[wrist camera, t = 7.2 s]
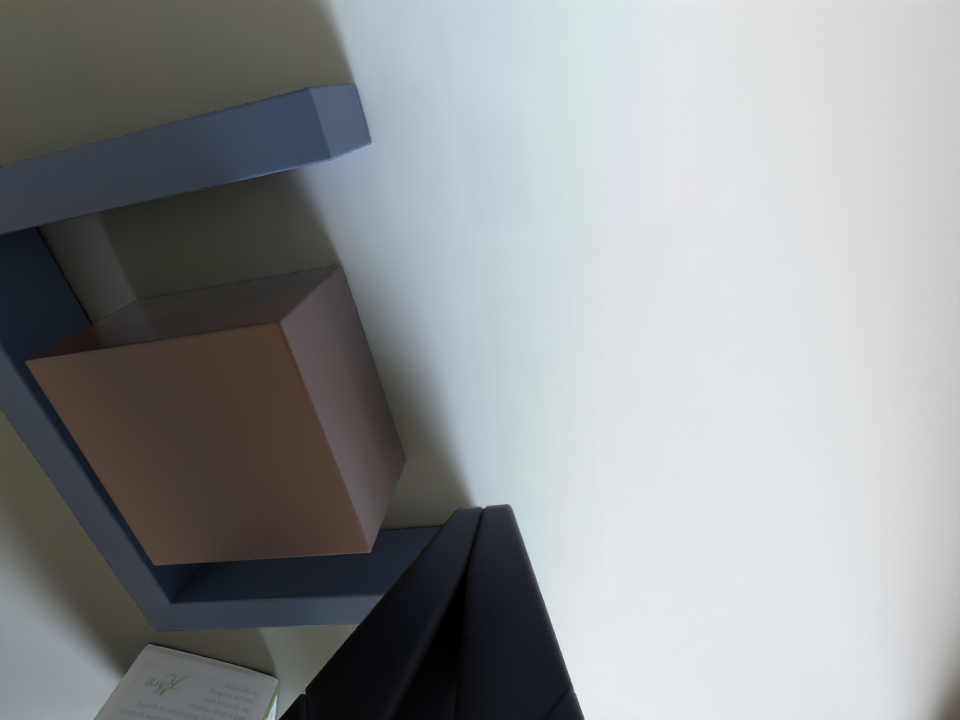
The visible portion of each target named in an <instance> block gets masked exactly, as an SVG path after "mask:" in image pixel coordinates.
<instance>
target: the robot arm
mask: <svg viewBox="0 0 960 720" xmlns="http://www.w3.org/2000/svg"><path fill="white" fill-rule="evenodd" d="M305 694H306V695H305ZM305 694H300V695H299V696H298V698H297V699H296V700H295V701H294V702H293V704H292V705H291V706H290V707H289V708H288V709H287V711H286V712H285V713H284V714H283V715H282V717H281V718H280V719H279V720H585V719H584V716H583V714H582V711H581V708H580V705H579V702H578V699H577V696H576V694H575V693H574V689H573V685H572V682H571V679H570V676H569V674H568V671H567V668H566V665H565V662H564V659H563V656H562V653H561V650H560V647H559V644H558V641H557V638H556V635H555V633H554V630H553V627H552V624H551V621H550V618H549V615H548V612H547V609H546V606H545V603H544V600H543V597H542V595H541V592H540V589H539V586H538V583H537V580H536V577H535V574H534V571H533V568H532V565H531V562H530V559H529V556H528V554H527V551H526V548H525V545H524V542H523V539H522V536H521V533H520V530H519V527H518V524H517V521H516V518H515V515H514V513H513V510H512V507H511V506H510V505H508V504H505V505H493V506H487V507H486V508H484V509H483V508H482V507H468V508H460V509H457V510H456V511H455V512H454V513H453V514H452V515H451V517H450V518H449V519H448V520H447V521H446V522H445V524H444V525H443V526H442V527H441V528H440V530H439V531H438V532H437V533H436V534H435V536H434V537H433V538H432V539H431V540H430V541H429V543H428V544H427V545H426V546H425V547H424V549H423V550H422V551H421V552H420V553H419V554H418V556H417V557H416V558H415V559H414V560H413V562H412V563H411V564H410V565H409V566H408V568H407V569H406V570H405V571H404V572H403V573H402V575H401V576H400V577H399V578H398V579H397V581H396V582H395V583H394V584H393V585H392V587H391V588H390V589H389V590H388V591H387V592H386V594H385V595H384V596H383V597H382V598H381V600H380V601H379V602H378V603H377V604H376V605H375V607H374V608H373V609H372V610H371V611H370V613H369V614H368V615H367V616H366V617H365V619H364V620H363V621H362V622H361V623H360V624H359V626H358V627H357V628H356V629H355V630H354V632H353V633H352V634H351V635H350V636H349V637H348V639H347V640H346V641H345V642H344V643H343V645H342V646H341V647H340V648H339V649H338V651H337V652H336V653H335V654H334V655H333V656H332V658H331V659H330V660H329V661H328V662H327V664H326V665H325V666H324V667H323V668H322V669H321V671H320V672H319V673H318V674H317V675H316V677H315V678H314V679H313V680H312V681H311V683H310V684H309V685H308V686H307V687H306V689H305Z"/></svg>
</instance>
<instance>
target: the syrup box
mask: <svg viewBox="0 0 960 720" xmlns="http://www.w3.org/2000/svg"><path fill="white" fill-rule="evenodd" d="M278 694H279V681H278V680H277V679H276V678H274V677H272V676H268V675H265V674H262V673H259V672H256V671H253V670H250V669H247V668H244V667H241V666H237V665H233V664H229V663H226V662H222V661H219V660H215V659H210V658H206V657H202V656H198V655H194V654H190V653H185V652H181V651H177V650H173V649H169V648H164V647H159V646H155V645H152V644H147V646H146V647H145V648H144V649H143V650H142V651H141V653H140V654H139V656H138V657H137V659H136V660H135V661H134V663H133V664H132V666H131V667H130V669H129V670H128V672H127V673H126V674H125V676H124V677H123V679H122V680H121V681H120V683H119V684H118V686H117V687H116V688H115V690H114V691H113V693H112V694H111V696H110V697H109V699H108V700H107V702H106V703H105V704H104V706H103V707H102V708H101V710H100V711H99V713H98V714H97V716H96V717H95V718H94V720H276V718H277V705H278Z"/></svg>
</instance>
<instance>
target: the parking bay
mask: <svg viewBox="0 0 960 720" xmlns="http://www.w3.org/2000/svg"><path fill="white" fill-rule="evenodd" d="M369 144H371V138H370V134H369V131H368V127H367V124H366V120H365V117H364V113H363V110H362V106H361V103H360V99H359V95H358V92H357V88H356V85H355V84H345V85H333V86H321V87H309V88H304V89H300V90H296V91H292V92H288V93H285V94H281V95H277V96H273V97H269V98H265V99H261V100H257V101H254V102H250V103H246V104H242V105H238V106H234V107H230V108H226V109H223V110H219V111H215V112H211V113H207V114H203V115H199V116H195V117H192V118H188V119H184V120H180V121H176V122H172V123H168V124H164V125H161V126H157V127H153V128H149V129H145V130H141V131H137V132H133V133H130V134H126V135H122V136H118V137H114V138H110V139H106V140H102V141H99V142H95V143H91V144H87V145H83V146H79V147H75V148H72V149H68V150H64V151H60V152H56V153H52V154H48V155H44V156H41V157H37V158H33V159H29V160H25V161H21V162H17V163H13V164H10V165H6V166H2V167H0V409H1V410H2V412H3V413H4V414H5V416H6V417H7V419H8V420H9V422H10V423H11V424H12V426H13V427H14V429H15V430H16V432H17V433H18V435H19V436H20V437H21V439H22V440H23V442H24V443H25V445H26V446H27V448H28V449H29V450H30V452H31V453H32V455H33V456H34V458H35V459H36V460H37V462H38V463H39V465H40V466H41V468H42V469H43V471H44V472H45V473H46V475H47V476H48V478H49V479H50V481H51V482H52V484H53V485H54V486H55V488H56V489H57V491H58V492H59V494H60V495H61V496H62V498H63V499H64V501H65V502H66V504H67V505H68V507H69V508H70V509H71V511H72V512H73V514H74V515H75V517H76V518H77V520H78V521H79V522H80V524H81V525H82V527H83V528H84V530H85V531H86V532H87V534H88V535H89V537H90V538H91V540H92V541H93V543H94V544H95V545H96V547H97V548H98V550H99V551H100V553H101V554H102V556H103V557H104V558H105V560H106V561H107V563H108V564H109V566H110V567H111V568H112V570H113V571H114V573H115V574H116V576H117V577H118V579H119V580H120V581H121V583H122V584H123V586H124V587H125V589H126V590H127V592H128V593H129V594H130V596H131V597H132V599H133V600H134V602H135V603H136V604H137V606H138V607H139V609H140V610H141V612H142V613H143V615H144V616H145V617H146V619H147V620H148V622H149V623H150V625H151V626H152V628H153V629H154V630H155V631H157V632H159V631H185V630H212V629H239V628H266V627H293V626H319V625H346V624H360V623H361V622H362V621H363V620H364V619H365V617H366V616H367V615H368V614H369V613H370V611H371V610H372V609H373V608H374V607H375V605H376V604H377V603H378V602H379V601H380V600H381V598H382V597H383V596H384V595H385V594H386V592H387V591H388V590H389V589H390V588H391V587H392V585H393V584H394V583H395V582H396V581H397V579H398V578H399V577H400V576H401V575H402V573H403V572H404V571H405V570H406V569H407V568H408V566H409V565H410V564H411V563H412V562H413V560H414V559H415V558H416V557H417V556H418V554H419V553H420V552H421V551H422V550H423V549H424V547H425V546H426V545H427V544H428V543H429V541H430V540H431V539H432V538H433V537H434V536H435V534H436V533H437V532H438V531H439V530H440V528H441V527H442V526H438V527H425V528H411V529H398V530H384V531H379V532H378V534H377V537H376V540H375V542H374V545H373V547H372V550H371V551H370V552H369V553H353V554H336V555H320V556H304V557H287V558H271V559H254V560H238V561H221V562H205V563H188V564H172V565H154V564H153V563H152V561H151V560H150V558H149V557H148V555H147V553H146V552H145V550H144V549H143V547H142V546H141V544H140V542H139V541H138V539H137V538H136V536H135V535H134V533H133V531H132V530H131V528H130V527H129V525H128V524H127V522H126V520H125V519H124V517H123V516H122V514H121V513H120V511H119V509H118V508H117V506H116V505H115V503H114V502H113V500H112V498H111V497H110V495H109V494H108V492H107V491H106V489H105V487H104V486H103V484H102V483H101V481H100V480H99V478H98V476H97V475H96V473H95V472H94V470H93V469H92V467H91V465H90V464H89V462H88V461H87V459H86V458H85V456H84V454H83V453H82V451H81V450H80V448H79V446H78V445H77V443H76V442H75V440H74V439H73V437H72V435H71V434H70V432H69V431H68V429H67V428H66V426H65V424H64V423H63V421H62V420H61V418H60V417H59V415H58V413H57V412H56V410H55V409H54V407H53V406H52V404H51V402H50V401H49V399H48V398H47V396H46V395H45V393H44V391H43V390H42V388H41V387H40V385H39V384H38V382H37V380H36V379H35V377H34V376H33V374H32V373H31V371H30V369H29V368H28V366H27V365H26V361H27V360H28V359H30V358H32V357H34V356H36V355H38V354H39V353H41V352H43V351H45V350H47V349H48V348H50V347H52V346H54V345H56V344H57V343H59V342H61V341H63V340H65V339H67V338H68V337H70V336H72V335H74V334H76V333H77V332H79V331H81V330H83V329H85V328H86V327H88V326H90V325H91V324H90V322H89V320H88V319H87V317H86V315H85V313H84V312H83V310H82V308H81V306H80V305H79V303H78V301H77V299H76V298H75V296H74V294H73V292H72V290H71V289H70V287H69V285H68V283H67V282H66V280H65V278H64V276H63V275H62V273H61V271H60V269H59V268H58V266H57V264H56V262H55V261H54V259H53V257H52V255H51V253H50V252H49V250H48V248H47V246H46V245H45V243H44V241H43V239H42V238H41V236H40V234H39V232H38V231H37V229H36V227H38V226H42V225H46V224H51V223H55V222H60V221H64V220H68V219H73V218H77V217H82V216H86V215H91V214H95V213H99V212H104V211H108V210H113V209H117V208H122V207H126V206H130V205H135V204H139V203H144V202H148V201H152V200H157V199H161V198H166V197H170V196H175V195H179V194H183V193H188V192H192V191H197V190H201V189H206V188H210V187H214V186H219V185H223V184H228V183H232V182H236V181H241V180H245V179H250V178H254V177H259V176H263V175H267V174H272V173H276V172H281V171H285V170H290V169H294V168H298V167H303V166H307V165H312V164H316V163H321V162H325V161H329V160H332V159H335V158H337V157H340V156H342V155H344V154H347V153H349V152H352V151H354V150H357V149H359V148H361V147H364V146H366V145H369Z"/></svg>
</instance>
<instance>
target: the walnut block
mask: <svg viewBox="0 0 960 720" xmlns="http://www.w3.org/2000/svg"><path fill="white" fill-rule="evenodd" d="M26 365H27V366H28V368H29V369H30V371H31V373H32V374H33V376H34V377H35V379H36V380H37V382H38V384H39V385H40V387H41V388H42V390H43V391H44V393H45V395H46V396H47V398H48V399H49V401H50V402H51V404H52V406H53V407H54V409H55V410H56V412H57V413H58V415H59V417H60V418H61V420H62V421H63V423H64V424H65V426H66V428H67V429H68V431H69V432H70V434H71V435H72V437H73V439H74V440H75V442H76V443H77V445H78V446H79V448H80V450H81V451H82V453H83V454H84V456H85V458H86V459H87V461H88V462H89V464H90V465H91V467H92V469H93V470H94V472H95V473H96V475H97V476H98V478H99V480H100V481H101V483H102V484H103V486H104V487H105V489H106V491H107V492H108V494H109V495H110V497H111V498H112V500H113V502H114V503H115V505H116V506H117V508H118V509H119V511H120V513H121V514H122V516H123V517H124V519H125V520H126V522H127V524H128V525H129V527H130V528H131V530H132V531H133V533H134V535H135V536H136V538H137V539H138V541H139V542H140V544H141V546H142V547H143V549H144V550H145V552H146V553H147V555H148V557H149V558H150V560H151V561H152V563H153V564H154V565H172V564H188V563H205V562H221V561H238V560H254V559H271V558H287V557H304V556H320V555H336V554H353V553H369V552H370V551H371V550H372V547H373V545H374V542H375V540H376V537H377V534H378V532H379V529H380V527H381V524H382V521H383V519H384V516H385V514H386V511H387V509H388V506H389V503H390V501H391V498H392V496H393V493H394V490H395V488H396V485H397V483H398V480H399V477H400V475H401V472H402V470H403V467H404V465H405V462H406V460H405V457H404V454H403V451H402V448H401V445H400V442H399V439H398V436H397V433H396V430H395V426H394V423H393V420H392V417H391V414H390V411H389V408H388V405H387V402H386V399H385V396H384V393H383V390H382V387H381V384H380V381H379V378H378V375H377V372H376V368H375V365H374V362H373V359H372V356H371V353H370V350H369V347H368V344H367V341H366V338H365V335H364V332H363V329H362V326H361V323H360V320H359V317H358V314H357V310H356V307H355V304H354V301H353V298H352V295H351V292H350V289H349V286H348V283H347V280H346V277H345V274H344V271H343V268H342V266H340V265H338V266H332V267H326V268H320V269H315V270H309V271H303V272H298V273H292V274H286V275H280V276H275V277H269V278H263V279H258V280H252V281H246V282H240V283H235V284H229V285H223V286H218V287H212V288H206V289H200V290H195V291H189V292H183V293H178V294H172V295H166V296H160V297H155V298H149V299H143V300H138V301H134V302H132V303H130V304H128V305H126V306H125V307H123V308H121V309H119V310H117V311H115V312H114V313H112V314H110V315H108V316H106V317H105V318H103V319H101V320H99V321H97V322H96V323H94V324H92V325H90V326H88V327H86V328H85V329H83V330H81V331H79V332H77V333H76V334H74V335H72V336H70V337H68V338H67V339H65V340H63V341H61V342H59V343H57V344H56V345H54V346H52V347H50V348H48V349H47V350H45V351H43V352H41V353H39V354H38V355H36V356H34V357H32V358H30V359H28V360H27V361H26Z"/></svg>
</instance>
